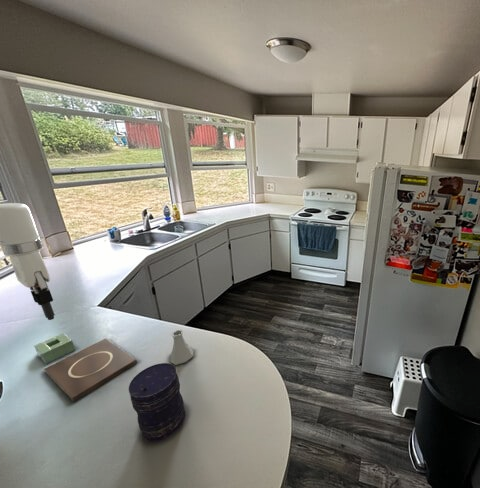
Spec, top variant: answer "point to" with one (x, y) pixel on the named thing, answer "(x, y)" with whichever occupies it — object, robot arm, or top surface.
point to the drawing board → (89, 368)
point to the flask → (180, 349)
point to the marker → (48, 310)
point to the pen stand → (54, 348)
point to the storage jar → (157, 401)
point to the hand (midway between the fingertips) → (44, 301)
